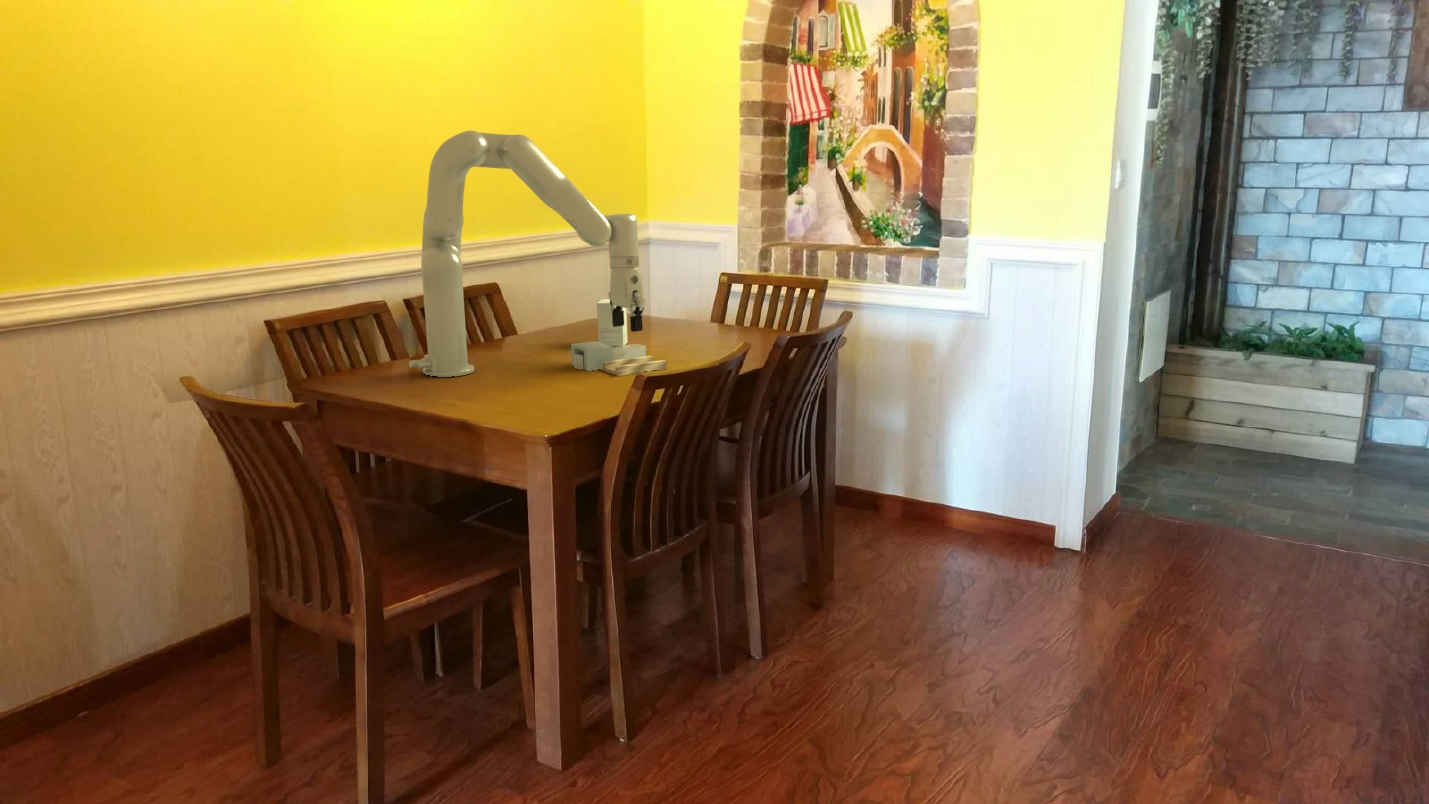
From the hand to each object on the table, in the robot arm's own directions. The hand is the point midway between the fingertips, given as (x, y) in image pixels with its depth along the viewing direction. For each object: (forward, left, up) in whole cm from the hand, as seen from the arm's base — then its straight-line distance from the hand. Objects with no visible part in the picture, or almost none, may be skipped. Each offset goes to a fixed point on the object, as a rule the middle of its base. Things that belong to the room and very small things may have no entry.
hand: (627, 328), depth 271 cm
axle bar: (-5, +1, -9) cm, 10 cm away
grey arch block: (-11, 0, -9) cm, 14 cm away
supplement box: (+8, +24, -9) cm, 27 cm away
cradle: (-4, -10, -9) cm, 14 cm away
